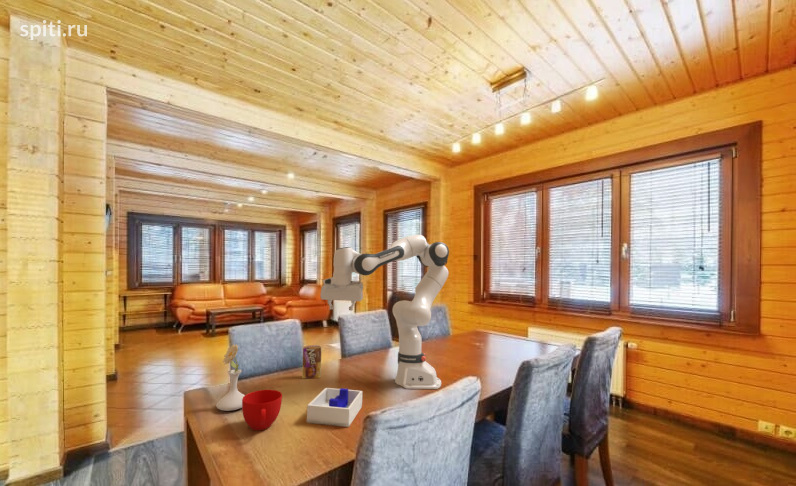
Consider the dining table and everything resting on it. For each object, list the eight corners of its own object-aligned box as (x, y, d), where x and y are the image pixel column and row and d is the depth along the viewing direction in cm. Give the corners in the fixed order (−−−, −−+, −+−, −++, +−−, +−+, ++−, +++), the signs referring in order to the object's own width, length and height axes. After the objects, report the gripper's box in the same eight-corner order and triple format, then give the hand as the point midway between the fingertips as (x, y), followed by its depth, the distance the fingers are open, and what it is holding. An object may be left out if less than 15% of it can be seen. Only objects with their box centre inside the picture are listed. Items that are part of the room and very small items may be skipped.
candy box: (320, 375, 170) (322, 344, 171) (320, 378, 166) (321, 346, 167) (302, 375, 169) (304, 345, 170) (301, 378, 165) (303, 347, 166)
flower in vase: (217, 403, 133) (221, 340, 135) (248, 399, 138) (252, 338, 140) (213, 417, 121) (218, 347, 123) (248, 413, 126) (251, 345, 128)
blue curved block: (337, 403, 134) (337, 387, 134) (347, 404, 133) (348, 389, 133) (324, 416, 122) (325, 399, 123) (336, 417, 121) (337, 400, 122)
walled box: (361, 406, 134) (362, 390, 135) (348, 426, 117) (349, 409, 118) (325, 402, 137) (325, 387, 137) (306, 422, 120) (307, 405, 120)
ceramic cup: (239, 444, 104) (241, 411, 105) (241, 420, 120) (242, 392, 120) (283, 436, 109) (284, 405, 110) (279, 415, 125) (280, 387, 126)
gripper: (365, 281, 162) (364, 310, 161) (324, 279, 165) (323, 308, 164) (361, 281, 155) (360, 311, 154) (319, 280, 159) (318, 309, 158)
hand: (341, 309), depth 159 cm, fingers open, 8 cm apart
